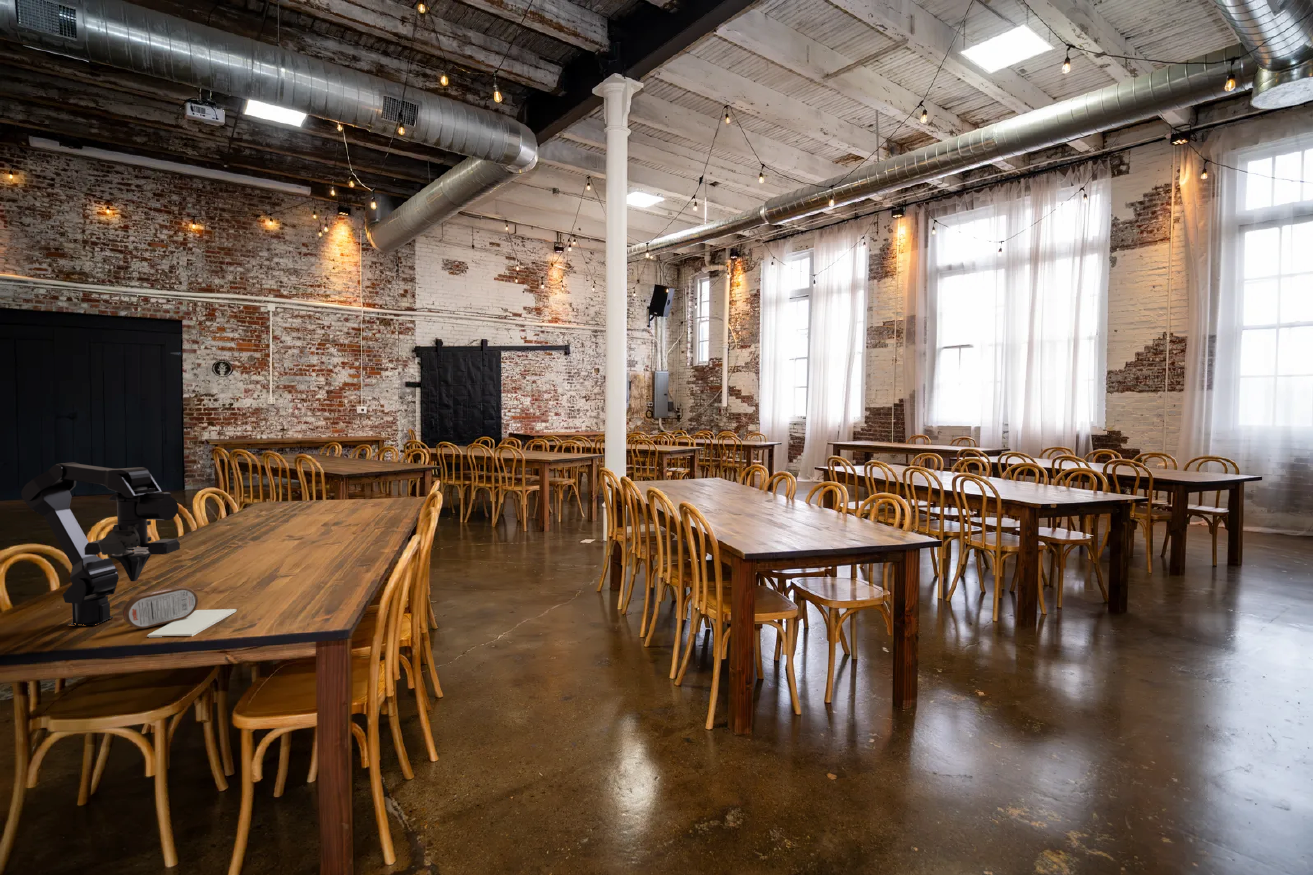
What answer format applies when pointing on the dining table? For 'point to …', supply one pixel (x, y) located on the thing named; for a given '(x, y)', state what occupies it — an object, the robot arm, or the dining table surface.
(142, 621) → the brown oval food container
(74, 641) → the dining table surface
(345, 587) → the dining table surface
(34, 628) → the dining table surface
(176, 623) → the mat
